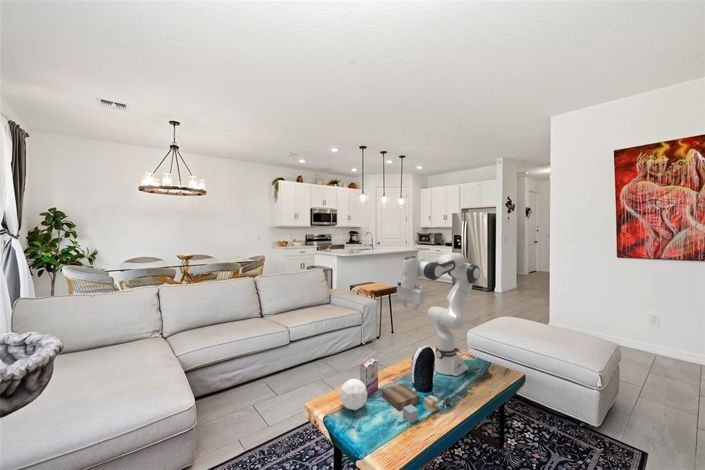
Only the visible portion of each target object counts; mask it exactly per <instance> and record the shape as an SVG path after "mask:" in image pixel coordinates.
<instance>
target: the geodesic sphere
mask: <svg viewBox="0 0 705 470" xmlns="http://www.w3.org/2000/svg"><path fill="white" fill-rule="evenodd" d="M339 397H340V401H341V404H342V405H343V406H344V407H345V408H346V409H348V410H352V411H357V410H358V409H360V408H363V407H364V406H365V404H366V402H367V398H368V397H367V390H366V387H365V385H364V384H363V383H362V382H361V381H360V379H357V378H356V379H355V378H351V379H348V380H347V381H345V382H344V383H343V384H342V385H341V387H340V391H339Z"/></svg>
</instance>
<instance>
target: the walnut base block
mask: <svg viewBox="0 0 705 470" xmlns="http://www.w3.org/2000/svg"><path fill="white" fill-rule="evenodd" d="M381 397H382V398H383V399H384V400H385V401H386V402H388V404H390V405H391V406H392V407H393V408H395V409H396V410H397V411H401V410H403V407H406V406H408V405H413V406H414V405H417V404H419V403H421V399H420V398H421V396H420V394H418V392H415V391H414V390H413V389H412V388H410V387H408V386H406V385H405V384H404V383H401V384H397V385H394V386H391V387H389V388H385V389H382V390H381Z"/></svg>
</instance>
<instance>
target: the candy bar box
mask: <svg viewBox="0 0 705 470" xmlns="http://www.w3.org/2000/svg"><path fill="white" fill-rule="evenodd" d="M378 365H379V364H378V359H376V358H373V357H370V358H369V359H367V360H365V361H363V362H362V363H361V364H360V365H359V380H360V381H361V382H362V383H363V384H364V385H365V387H366V390H367V398H368V397H370V395H372V394H373V393H375V391H377V390H378V389H379V375H378V374H379V368H378Z"/></svg>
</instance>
